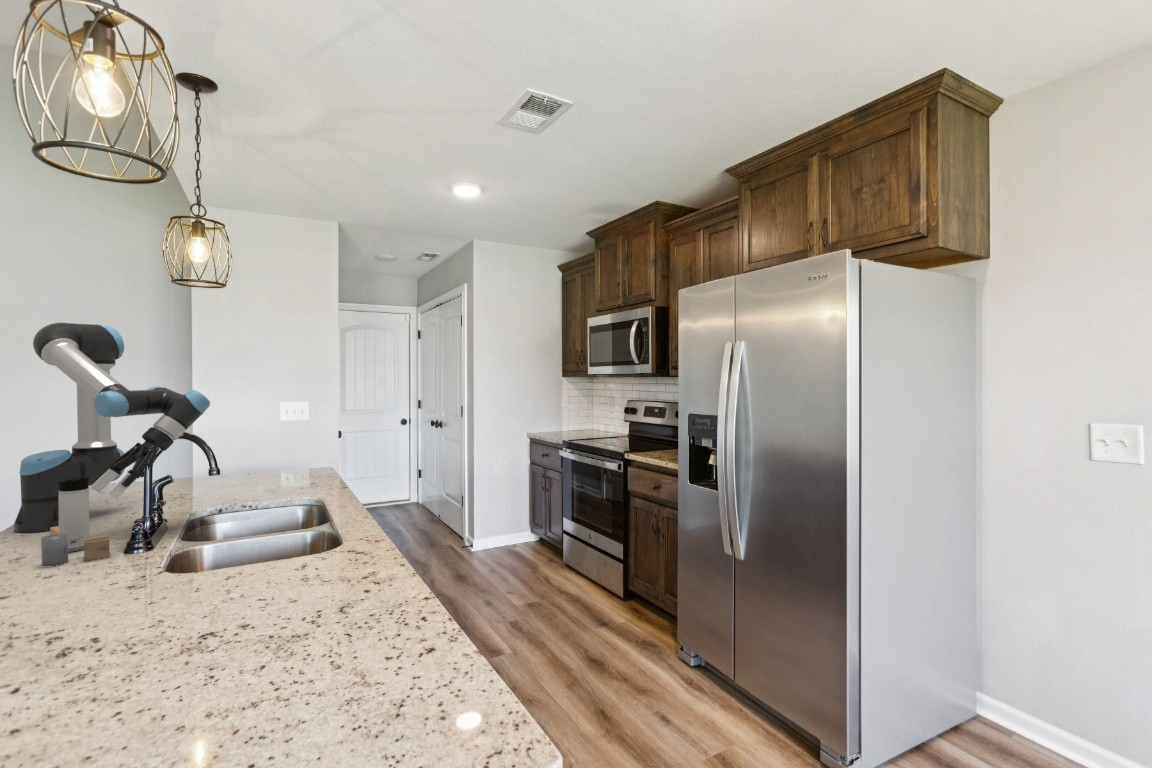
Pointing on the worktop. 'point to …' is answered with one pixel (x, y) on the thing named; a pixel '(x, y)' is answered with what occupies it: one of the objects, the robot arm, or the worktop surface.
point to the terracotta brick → (54, 530)
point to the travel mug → (74, 511)
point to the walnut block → (96, 548)
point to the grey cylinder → (54, 549)
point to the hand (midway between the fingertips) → (103, 492)
